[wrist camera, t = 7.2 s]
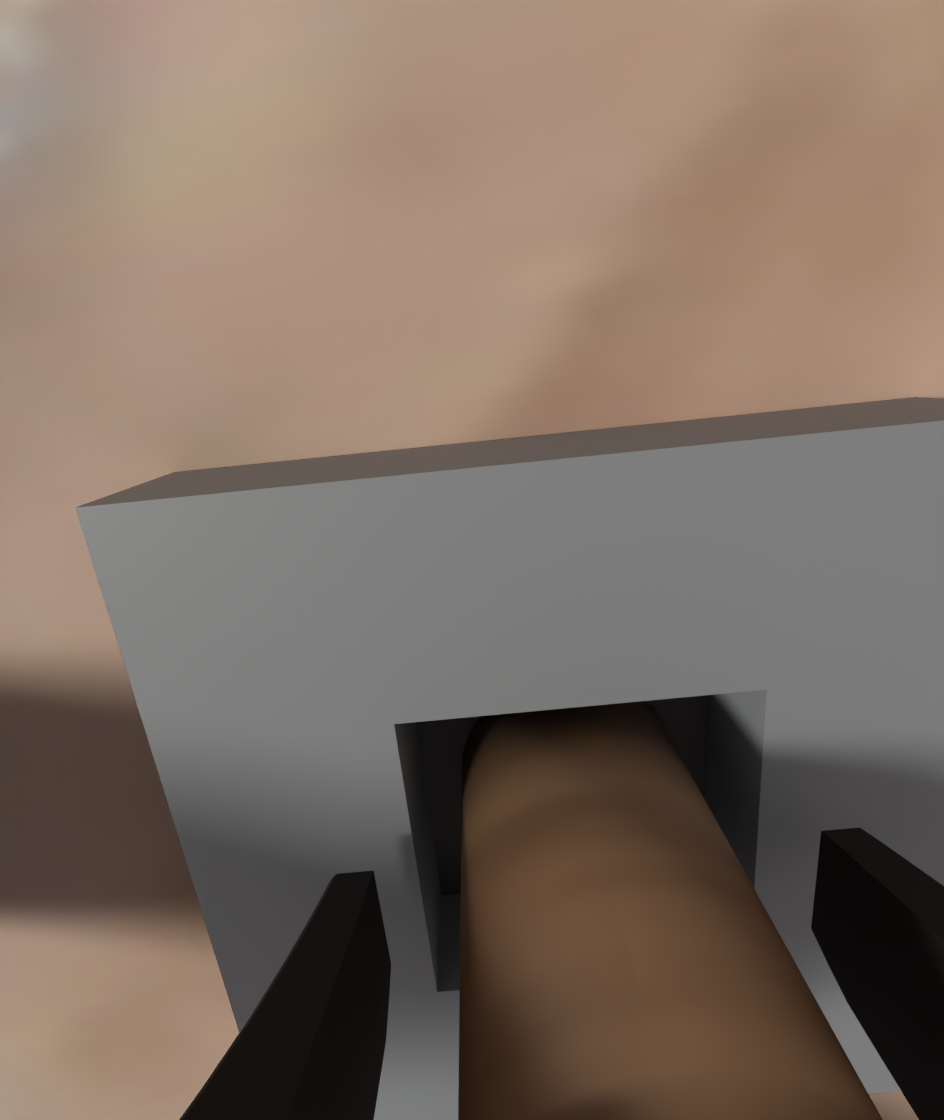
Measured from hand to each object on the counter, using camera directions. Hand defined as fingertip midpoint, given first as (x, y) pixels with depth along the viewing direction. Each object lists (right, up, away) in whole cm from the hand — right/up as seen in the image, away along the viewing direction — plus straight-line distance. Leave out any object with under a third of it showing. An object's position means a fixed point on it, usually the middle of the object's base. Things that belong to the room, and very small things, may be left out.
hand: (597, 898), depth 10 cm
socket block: (0, +1, +4) cm, 4 cm away
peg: (0, +1, +3) cm, 3 cm away
